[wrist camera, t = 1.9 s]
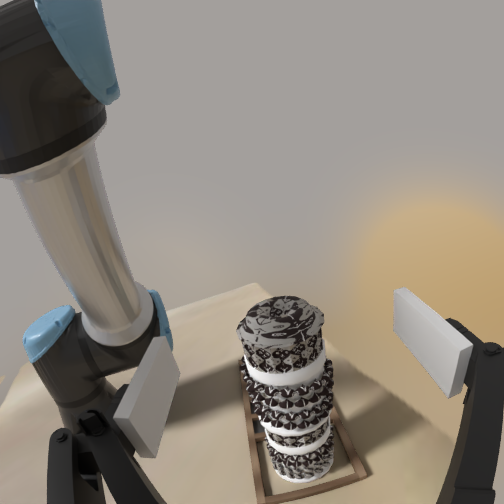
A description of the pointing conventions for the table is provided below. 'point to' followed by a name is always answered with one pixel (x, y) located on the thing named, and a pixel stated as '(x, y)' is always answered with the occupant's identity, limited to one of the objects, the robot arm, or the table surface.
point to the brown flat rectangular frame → (258, 434)
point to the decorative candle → (290, 385)
